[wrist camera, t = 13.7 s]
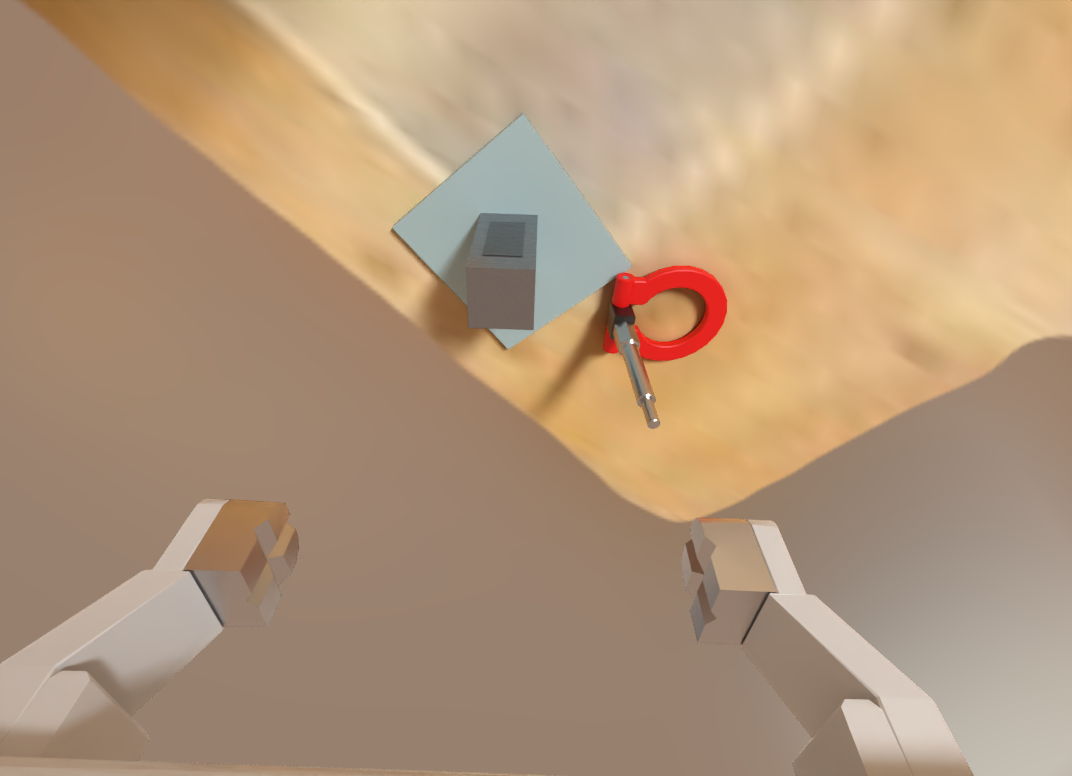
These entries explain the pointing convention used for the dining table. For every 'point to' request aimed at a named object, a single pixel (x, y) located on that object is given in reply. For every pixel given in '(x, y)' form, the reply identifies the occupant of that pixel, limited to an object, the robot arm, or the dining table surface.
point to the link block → (502, 272)
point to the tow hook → (636, 345)
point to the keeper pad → (517, 188)
